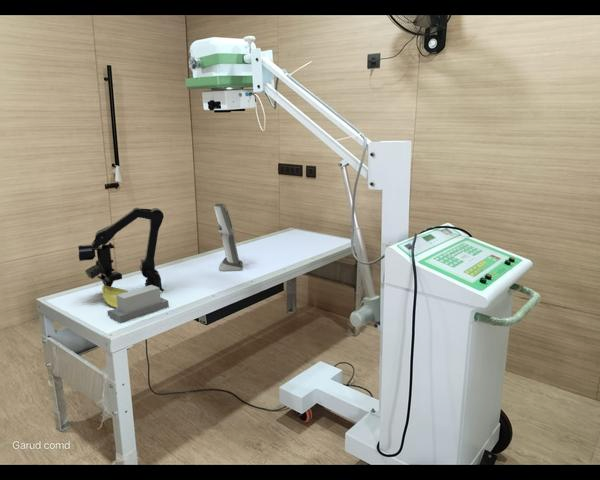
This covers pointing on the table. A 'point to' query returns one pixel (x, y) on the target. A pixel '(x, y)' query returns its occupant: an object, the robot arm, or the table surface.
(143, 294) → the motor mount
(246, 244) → the table surface
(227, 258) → the grey tall upright piece
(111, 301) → the yellow long curved piece
